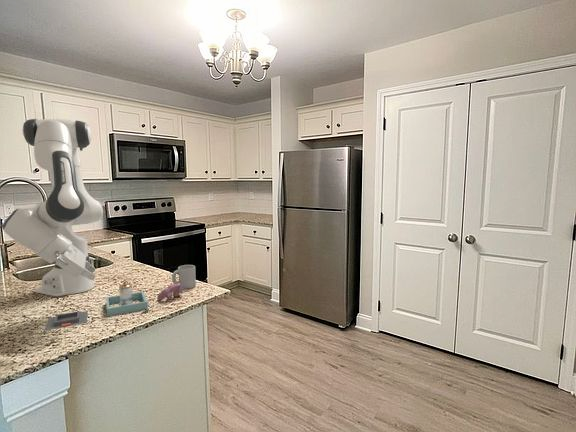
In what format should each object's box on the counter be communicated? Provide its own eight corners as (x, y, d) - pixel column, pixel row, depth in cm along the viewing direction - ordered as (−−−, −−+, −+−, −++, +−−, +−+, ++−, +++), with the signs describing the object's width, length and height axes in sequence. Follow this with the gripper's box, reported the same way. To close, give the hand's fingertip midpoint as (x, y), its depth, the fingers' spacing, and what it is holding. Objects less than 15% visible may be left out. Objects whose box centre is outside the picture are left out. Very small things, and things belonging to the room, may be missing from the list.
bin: (107, 320, 106) (106, 309, 106) (106, 307, 117) (106, 297, 117) (148, 312, 113) (147, 301, 112) (143, 301, 124) (143, 291, 123)
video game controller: (162, 305, 123) (167, 291, 121) (155, 298, 125) (160, 284, 123) (182, 298, 132) (187, 284, 129) (175, 291, 133) (180, 278, 131)
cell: (117, 309, 113) (116, 285, 112) (125, 305, 117) (124, 282, 116) (127, 310, 113) (126, 286, 112) (135, 306, 116) (134, 282, 116)
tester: (44, 335, 96) (43, 327, 96) (49, 321, 105) (48, 314, 105) (87, 327, 102) (86, 319, 101) (88, 314, 111) (87, 307, 111)
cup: (196, 287, 139) (195, 268, 139) (172, 290, 136) (171, 270, 135) (195, 283, 146) (194, 264, 145) (172, 285, 142) (171, 266, 142)
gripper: (62, 248, 95) (101, 275, 101) (67, 237, 112) (100, 260, 118) (44, 264, 93) (86, 290, 99) (52, 251, 110) (87, 274, 117)
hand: (94, 274), depth 109 cm, fingers open, 8 cm apart
